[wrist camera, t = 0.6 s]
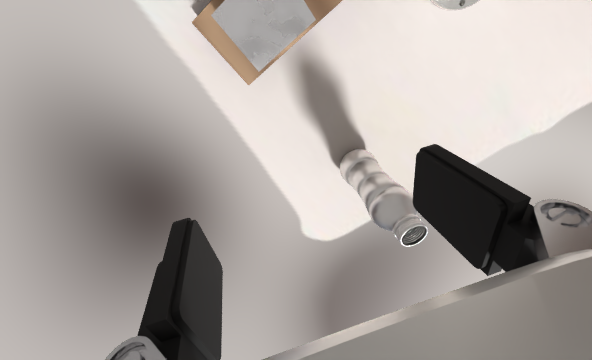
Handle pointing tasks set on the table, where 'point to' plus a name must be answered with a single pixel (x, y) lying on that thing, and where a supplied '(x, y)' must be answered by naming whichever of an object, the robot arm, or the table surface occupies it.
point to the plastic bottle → (383, 197)
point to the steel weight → (263, 26)
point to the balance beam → (318, 3)
